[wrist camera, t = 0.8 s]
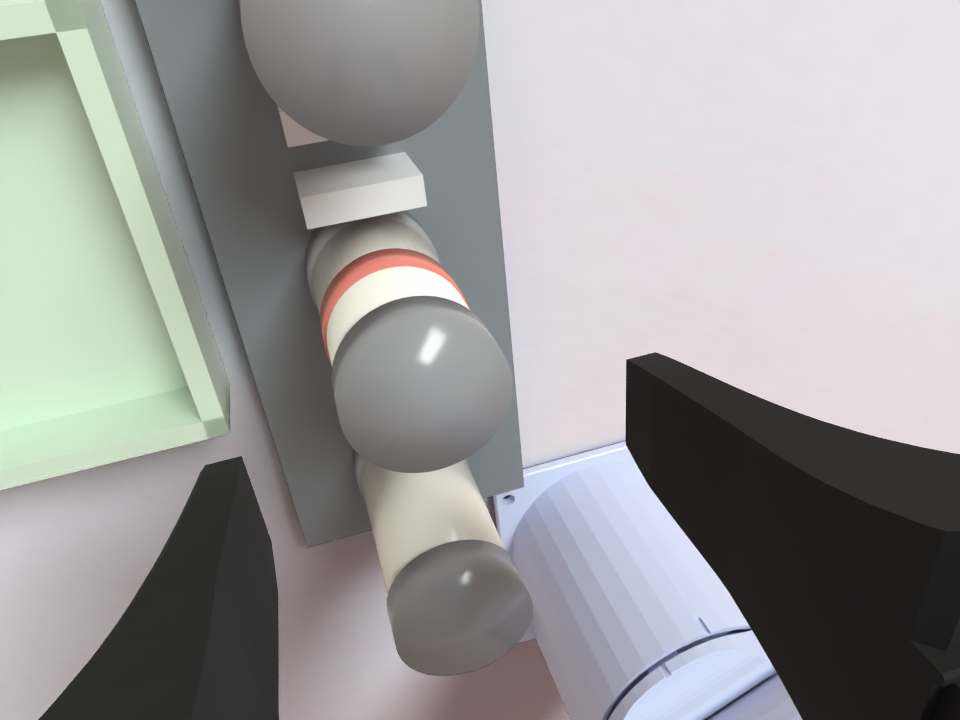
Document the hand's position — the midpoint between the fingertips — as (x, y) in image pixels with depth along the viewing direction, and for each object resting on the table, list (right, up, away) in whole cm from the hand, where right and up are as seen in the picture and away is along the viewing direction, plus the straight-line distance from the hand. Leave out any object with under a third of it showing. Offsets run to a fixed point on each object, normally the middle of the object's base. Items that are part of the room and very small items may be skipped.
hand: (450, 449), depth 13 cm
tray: (-12, +5, +6) cm, 14 cm away
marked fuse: (-3, +4, +8) cm, 9 cm away
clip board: (-3, +5, +9) cm, 10 cm away
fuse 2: (-2, -1, +11) cm, 12 cm away
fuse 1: (-3, +10, +4) cm, 12 cm away
